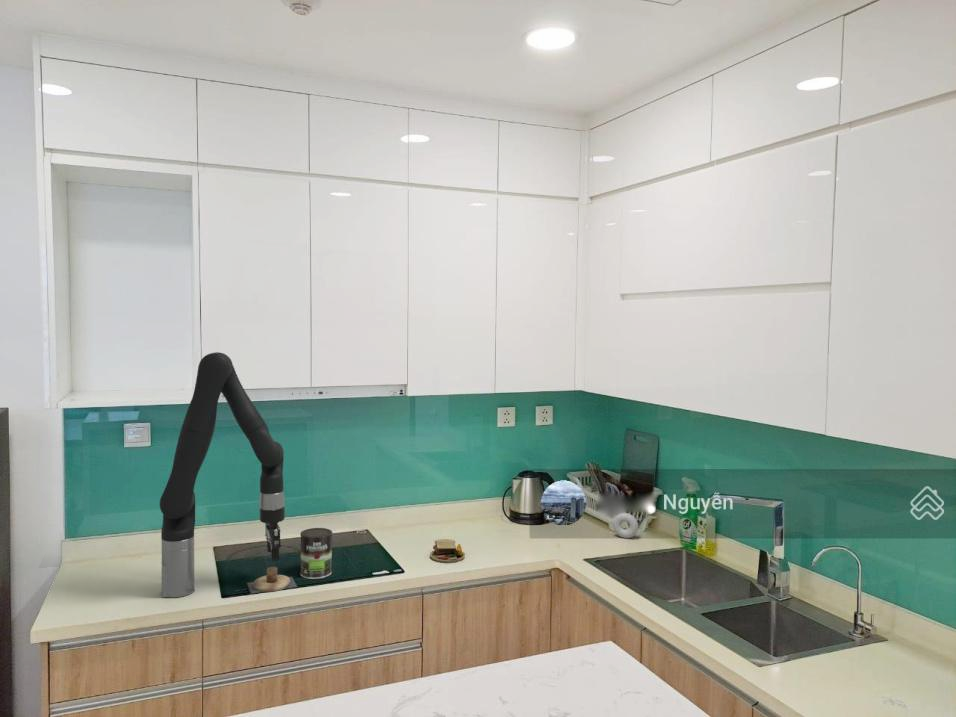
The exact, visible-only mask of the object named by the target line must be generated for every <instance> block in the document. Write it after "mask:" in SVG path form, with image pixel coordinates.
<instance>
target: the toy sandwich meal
mask: <svg viewBox="0 0 956 717" xmlns="http://www.w3.org/2000/svg"><path fill="white" fill-rule="evenodd" d="M434 544H435V545H433V547H432V548H433V551H431V552H430V554H429V556H430V557H431V559H432V560H434V561H435V562H439V563H445V564H446V563H455V562H456V563H457V562H459V561H461V560H463V559H464V558H465V556H466V553H465V552H463V550H462V549H463V548H462V545H461V543H458V544H457V546H456V540H455V539H445V538H444V539H443V538H441V539H436V540H434Z"/></svg>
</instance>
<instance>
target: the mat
mask: <svg viewBox="0 0 956 717" xmlns="http://www.w3.org/2000/svg"><path fill="white" fill-rule="evenodd" d="M288 577H289V578H290V585H289V586H288V587H286V588H285V589H291V588H297V587H298V585H297V583H296V582H295V580H294V578H293V576H288ZM246 584H247V587H248V590H249V593H250V594H258V593H265V592H264V591H258V590H256V589H255V588H254V581H253V582H252V581H251V582H246Z"/></svg>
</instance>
